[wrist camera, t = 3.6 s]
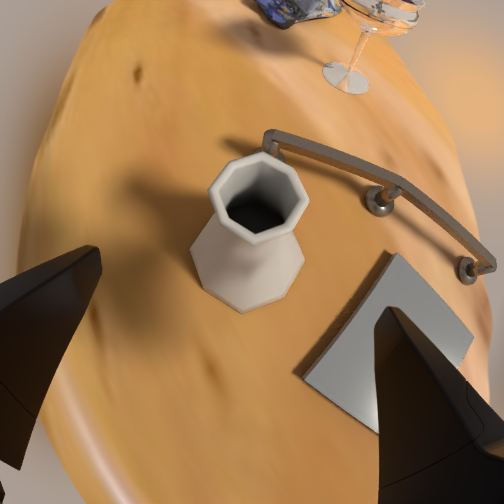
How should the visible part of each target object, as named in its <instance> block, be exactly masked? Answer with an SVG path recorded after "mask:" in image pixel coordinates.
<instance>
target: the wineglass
mask: <svg viewBox="0 0 504 504" xmlns="http://www.w3.org/2000/svg"><path fill="white" fill-rule="evenodd" d="M339 4H340V6H341V8H342V9H343V10H344V12H345V13H346V15H347V16H348V18H349V19H350V20H351V21H352V22H354V23H355V24H356V25H358V26H359V29H360V30H361V31H362V32H361V35H360V37H359V40H358V43H357V46H356V49H355V51H354V54H353V57H352V60H351V62H350V65H348V64H346V63H340V62H332V63H328V64H327V65H325V66H324V68H323V74H324V77H325V78H326V80H327V81H328V82H329V83H330V84H332V85H333V86H334V87H336V88H338V89H339V90H341V91H344V92H347V93H351V94H362V93H365V92H367V90H368V89H369V82H368V79H367V78H366V77H365V75H364V74H363V73H362V72H361V71H359V70H358V69H356V68H355V67H354V65H355V63H356V61H357V59H358V57H359V55H360V54H361V52H362V50H363V48H364V46H365V44H366V42H367V40H368V38H369V36H370V35H375V34H378V35H381V36H392V35H401V34H405V33H407V32H408V31H410V30H411V29H412V28H413V27H414V26H415V25H416V23H417V22H418V18H419V15H418V10H420V9H422V8H424V7H425V6H426V5H425V2H424V1H423V0H339Z"/></svg>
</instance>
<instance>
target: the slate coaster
mask: <svg viewBox="0 0 504 504" xmlns="http://www.w3.org/2000/svg"><path fill="white" fill-rule="evenodd" d="M387 306H394V307H398V308H400V309H401V310H402V311H403V312H404V313H405V314H406V315H407V316H408V317H409V318H410V319H411V320H412V321H413V322H414V323H415V324H416V325H417V326H418V328H419V329H420V330H421V331H422V332H423V333H424V334H425V335H426V336H427V337H428V338H429V339H430V340H431V341H432V342H433V343H434V344H435V345H436V347H437V348H438V349H439V350H440V351H441V352H442V353H443V354H444V355H445V356H446V357H447V359H448V360H449V361H450V362H451V363H452V364H453V365H454V366H455V367H456V369H457V370H458V368H459V366H460V364H461V362H462V360H463V359H464V357H465V355H466V353H467V351H468V349H469V347H470V345H471V343H472V341H473V339H474V336H473V334H472V333H471V332H470V331H469V330H468V328H467V327H466V326H465V325H464V323H463V322H462V321H461V320H460V319H459V318H458V316H457V315H456V314H455V313H454V312H453V311H452V309H451V308H450V307H449V306H448V305H447V304H446V303H445V301H444V300H443V299H442V298H441V297H440V296H439V295H438V294H437V293H436V291H435V290H434V289H433V288H432V287H431V286H430V285H429V284H428V283H427V282H426V281H425V280H424V279H423V278H422V276H421V275H420V274H419V273H418V272H417V271H416V270H415V269H414V268H413V267H412V266H411V265H410V264H409V263H408V262H407V261H406V260H405V259H404V258H403V257H402V256H401V255H400V254H399V253H398V252H397V253H395V254H392V256H391V257H390V259H389V261H388V262H387V264H386V265H385V267H384V268H383V270H382V271H381V273H380V275H379V276H378V278H377V279H376V281H375V282H374V284H373V285H372V286H371V288H370V289H369V291H368V292H367V294H366V295H365V297H364V298H363V299H362V301H361V302H360V304H359V305H358V306H357V308H356V309H355V311H354V312H353V313H352V315H351V316H350V317H349V319H348V320H347V321H346V323H345V324H344V325H343V327H342V328H341V329H340V331H339V332H338V333H337V335H336V336H335V337H334V338H333V340H332V341H331V342H330V343H329V345H328V346H327V347H326V348H325V350H324V351H323V352H322V353H321V355H320V356H319V357H318V358H317V359H316V361H315V362H314V363H313V364H312V365H311V367H310V368H309V369H308V370H307V371H306V372H305V374H304V375H303V376H302V378H303V379H304V380H305V381H306V382H307V383H309V384H310V385H311V386H313V387H314V388H315V389H317V390H318V391H319V392H321V393H322V394H323V395H325V396H326V397H327V398H329V399H330V400H331V401H333V402H334V403H335V404H337V405H338V406H340V407H341V408H342V409H344V410H345V411H346V412H348V413H349V414H351V415H352V416H353V417H355V418H356V419H358V420H359V421H361V422H362V423H363V424H365V425H366V426H368V427H369V428H371V429H372V430H374V431H375V432H377V433H378V434H379V430H378V411H377V397H376V385H375V373H374V326H375V324H376V322H377V320H378V319H379V317H380V315H381V314H382V312H383V310H384V309H385V308H386V307H387Z"/></svg>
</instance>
